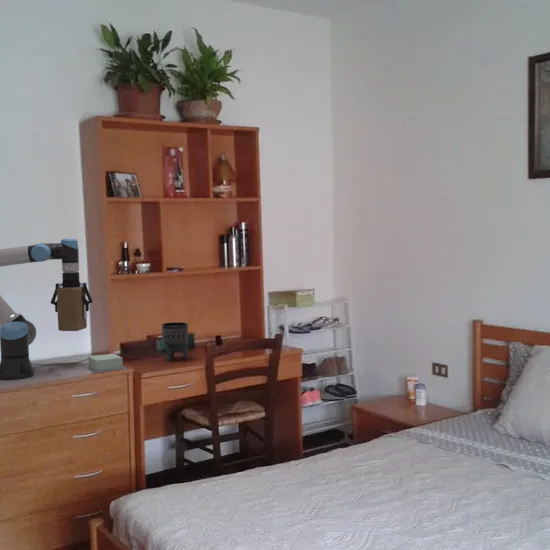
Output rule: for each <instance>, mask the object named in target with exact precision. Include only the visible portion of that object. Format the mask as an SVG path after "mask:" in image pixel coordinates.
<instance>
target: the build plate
mask: <svg viewBox="0 0 550 550" xmlns="http://www.w3.org/2000/svg"><path fill="white" fill-rule="evenodd" d="M122 366H123V368H122V369H114V370H115V371H120V370H121V371H122V370H129V368H128V367H125V366H124V365H122ZM83 369H86V370H88V371H89V372H91V373H93V374H96V373H97V374H98V373H105V372H113V371H112V370H106V371H98V372H97V371H95V370H93V369H91V368H90V367H89V365H88V366H83Z"/></svg>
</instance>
